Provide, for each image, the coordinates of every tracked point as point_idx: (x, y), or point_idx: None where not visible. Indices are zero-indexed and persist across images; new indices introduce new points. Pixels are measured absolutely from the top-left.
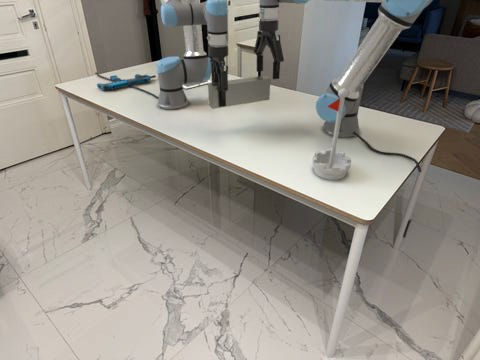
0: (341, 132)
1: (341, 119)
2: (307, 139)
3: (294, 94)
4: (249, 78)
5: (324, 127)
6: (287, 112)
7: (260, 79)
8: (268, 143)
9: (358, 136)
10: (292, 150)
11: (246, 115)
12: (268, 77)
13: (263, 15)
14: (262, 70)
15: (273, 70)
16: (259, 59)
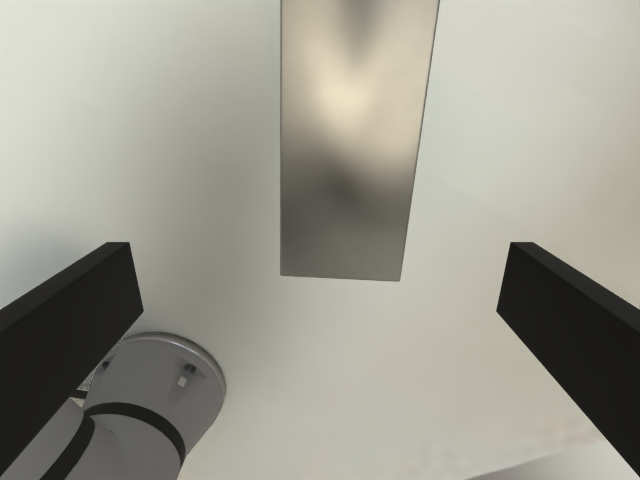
0: (99, 364)
1: (87, 403)
2: (131, 248)
3: (546, 438)
4: (399, 47)
5: (170, 345)
6: (399, 320)
7: (295, 161)
8: (139, 76)
9: (75, 392)
10: (51, 139)
11: (477, 139)
12: (322, 276)
13: None
14: (499, 309)
15: (38, 294)
16: (624, 370)
